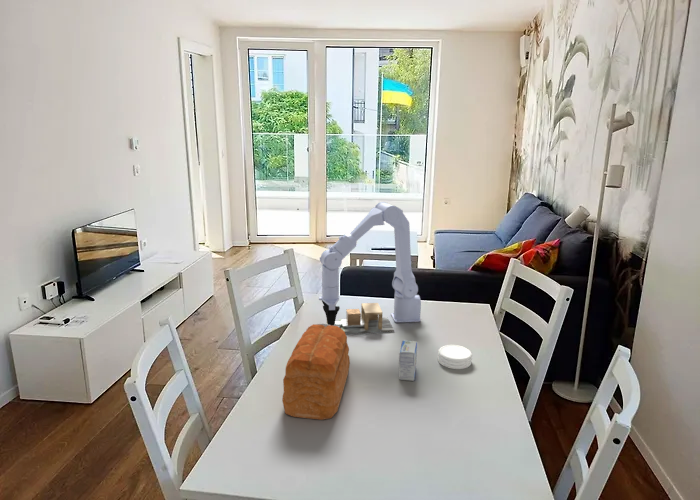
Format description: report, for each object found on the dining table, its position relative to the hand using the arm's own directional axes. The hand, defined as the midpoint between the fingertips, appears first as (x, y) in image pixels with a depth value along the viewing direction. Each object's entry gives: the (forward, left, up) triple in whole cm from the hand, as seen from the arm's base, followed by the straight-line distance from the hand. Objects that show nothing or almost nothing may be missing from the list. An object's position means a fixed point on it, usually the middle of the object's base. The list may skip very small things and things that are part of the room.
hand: (330, 321), depth 169 cm
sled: (-5, 0, -1) cm, 5 cm away
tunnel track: (-12, 0, -2) cm, 13 cm away
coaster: (-36, +28, -3) cm, 45 cm away
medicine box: (-20, +34, -2) cm, 39 cm away
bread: (+6, +40, -3) cm, 41 cm away
